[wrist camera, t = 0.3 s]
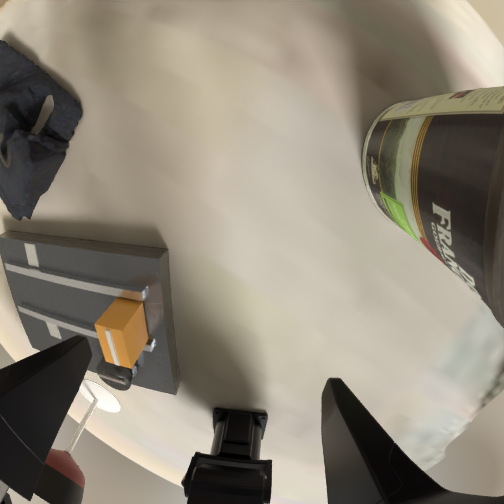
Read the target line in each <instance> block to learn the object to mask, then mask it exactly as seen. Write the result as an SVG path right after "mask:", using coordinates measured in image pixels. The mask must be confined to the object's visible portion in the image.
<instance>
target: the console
mask: <svg viewBox="0 0 504 504" xmlns="http://www.w3.org/2000/svg"><path fill="white" fill-rule="evenodd" d="M0 254H1V258H2V262H3V266H4V270H5V273H6V277H7V281H8V284H9V287H10V290H11V294H12V297H13V300H14V302H15V305H16V308H17V311H18V314H19V316H20V319H21V322H22V324H23V327H24V329H25V331H26V334H27V336H28V339H29V341H30V343H31V345H32V347H33V348H35V349H37V350H40V351H42V350H45V349H47V348H49V347H51V346H53V345H56V344H58V343H60V342H62V341H65V340H67V339H69V338H71V337H73V336H76V335H82V336H85V337H87V339H88V341H89V344H90V348H91V351H92V358H91V361H90V363H89V366H88V368H87V370H89V371H92V372H95V373H97V374H98V375H99V377H100V378H101V379H102V380H103V381H104V382H105V383H106V384H108V385H109V386H111V387H113V388H115V389H118V390H123V391H124V390H128V389H129V388H130V386H131V384H133V385H137V386H140V387H144V388H148V389H152V390H156V391H160V392H164V393H169V394H173V395H176V393H177V390H178V388H179V385H180V375H179V368H178V360H177V352H176V344H175V335H174V325H173V314H172V303H171V290H170V274H169V254H168V249H162V248H153V247H144V246H135V245H126V244H117V243H108V242H99V241H91V240H82V239H73V238H65V237H56V236H48V235H39V234H31V233H23V232H15V231H6V232H5V233H3V234H1V235H0ZM117 297H119V298H124V299H129V300H134V301H140V302H143V306H144V313H145V320H146V326H147V332H148V337H149V339H148V341H147V343H146V344H145V346H144V348H143V350H142V352H141V353H140V355H139V357H138V359H137V360H136V362H135V364H134V366H133V368H132V369H130V368H127V367H123V366H120V365H119V366H118V365H115V364H113V363H109V362H106V360H105V357H104V354H103V351H102V348H101V345H100V341H99V338H98V335H97V331H96V328H95V323H96V322H97V320H98V319H99V318H100V317H101V316H102V314H103V313H104V312H105V311H106V310H107V309H108V307H109V306H110V305H111V304H112V303H113V302H114V301H115V299H116V298H117Z"/></svg>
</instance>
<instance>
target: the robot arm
mask: <svg viewBox="0 0 504 504" xmlns="http://www.w3.org/2000/svg"><path fill="white" fill-rule="evenodd" d="M91 358H92V351H91V348H90V344H89V341H88V339H87V337H85V336H82V335H76V336H73V337H71V338H69V339H67V340H65V341H62V342H60V343H58V344H56V345H53V346H51V347H49V348H47V349H45V350H42V351H40V352H38V353H36V354H33V355H31V356H29V357H27V358H25V359H22V360H20V361H18V362H16V363H14V364H11V365H9V366H7V367H4V368H2V369H0V504H12V502H11V499H10V495H9V494H8V493H7V491H8V489H9V487H10V488H11V489H13V490H14V491H15V492H17V493H18V494H20V495H21V496H22V497H24V498H26V499H27V500H28V501H31V499H32V496H33V493H34V490H35V487H36V485H37V482H38V479H39V477H40V474H41V471H42V469H43V466H44V464H45V461H46V459H47V456H48V454H49V452H50V449H51V447H52V445H53V442H54V440H55V438H56V436H57V433H58V431H59V429H60V427H61V425H62V423H63V420H64V418H65V416H66V414H67V412H68V410H69V408H70V406H71V404H72V402H73V400H74V398H75V396H76V394H77V392H78V390H79V388H80V386H81V383H82V381H83V378H84V376H85V373H86V371H87V368H88V366H89V363H90V361H91ZM267 419H268V415H267V414H262V413H251V412H242V411H234V410H226V409H219V408H215V409H214V410H213V423H214V439H213V444H212V448H211V453H210V455H209V454H203V453H200V452H195V455H194V456H193V457H192V459H191V463H190V465H189V468H188V471H187V473H186V474H185V476H184V478H183V479H182V482H181V484H182V486H183V487H184V493H185V497H187V498H188V501H187V504H270V499H271V487H272V460H259V459H260V447H261V440H262V439H263V436H264V432H265V428H266V423H267ZM321 435H322V445H323V454H324V464H325V474H326V485H327V497H328V504H504V496H500V497H488V496H479V495H471V494H464V493H458V492H452V491H449V490H447V489H445V488H443V487H441V486H440V485H439V484H438V483H436V482H435V481H434V480H433V479H432V478H431V477H429V476H428V475H427V474H426V473H425V472H424V471H423V470H421V469H420V468H419V467H418V466H417V465H416V464H415V463H414V462H413V461H412V460H411V459H410V458H409V457H408V456H407V455H406V454H405V453H404V452H403V451H402V450H401V449H400V447H399V446H398V445H397V444H396V443H394V441H393V439H392V438H391V437H390V436H389V435H388V434H387V432H386V431H385V430H384V429H383V428H382V427H381V425H380V424H379V423H378V422H377V421H376V420H375V418H374V417H373V416H372V415H371V414H370V413H369V411H368V410H367V409H366V408H365V407H364V406H363V404H362V403H361V402H360V401H359V400H358V398H357V397H356V396H355V395H354V394H353V393H352V391H351V390H350V389H349V388H348V387H347V385H346V384H345V383H344V382H343V381H342V379H340V378H329V379H328V380H327V382H326V385H325V387H324V390H323V392H322V420H321Z"/></svg>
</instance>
